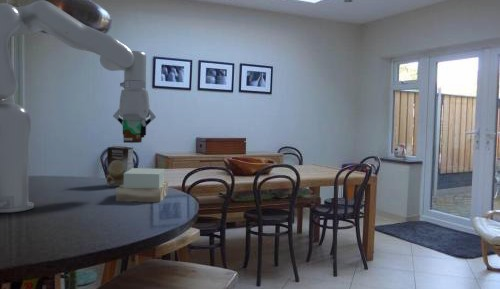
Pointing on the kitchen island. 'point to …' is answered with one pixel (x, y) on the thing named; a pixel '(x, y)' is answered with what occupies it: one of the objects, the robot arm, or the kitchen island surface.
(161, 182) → the tower top slab
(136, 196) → the tower base slab
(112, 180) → the coffee box
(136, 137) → the food container
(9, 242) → the kitchen island surface
